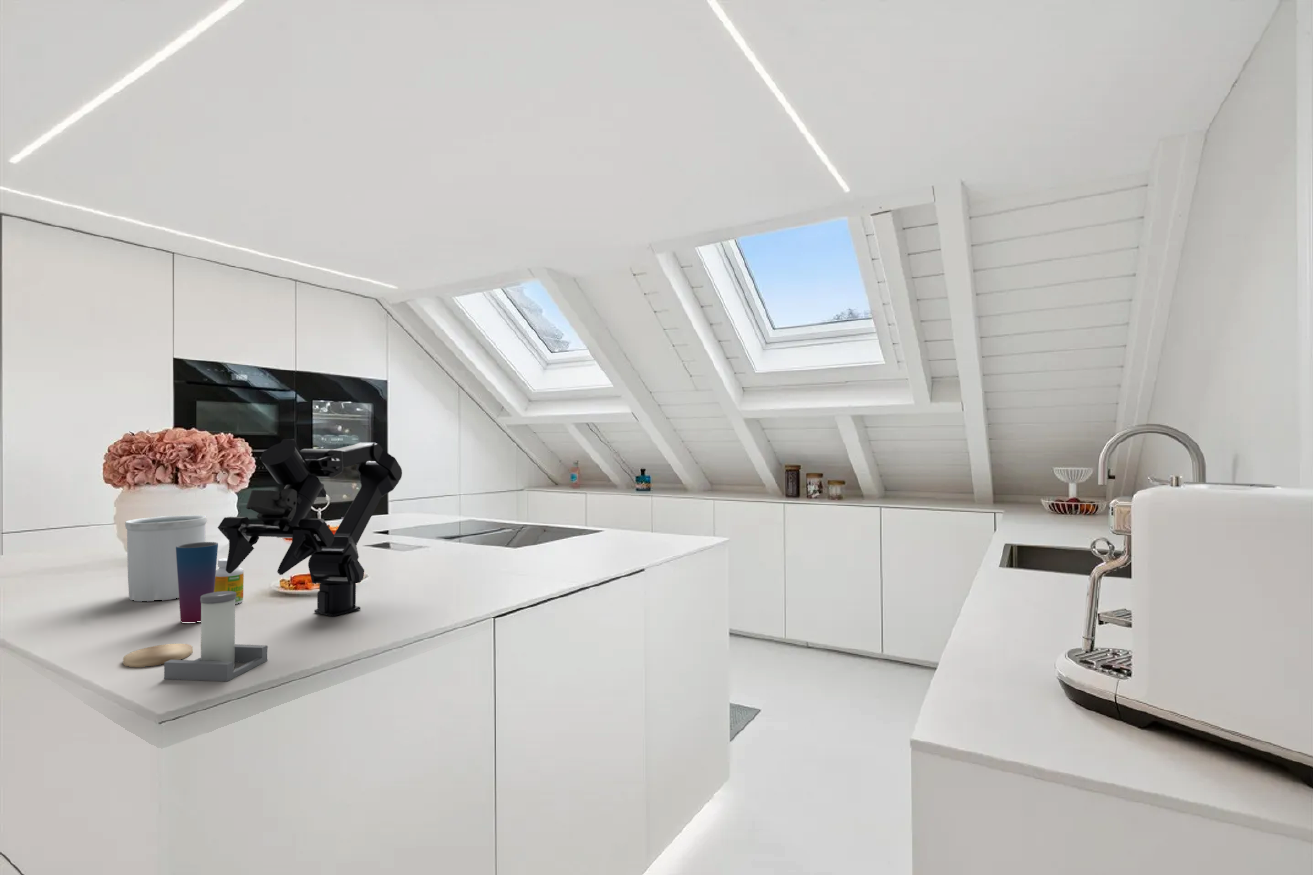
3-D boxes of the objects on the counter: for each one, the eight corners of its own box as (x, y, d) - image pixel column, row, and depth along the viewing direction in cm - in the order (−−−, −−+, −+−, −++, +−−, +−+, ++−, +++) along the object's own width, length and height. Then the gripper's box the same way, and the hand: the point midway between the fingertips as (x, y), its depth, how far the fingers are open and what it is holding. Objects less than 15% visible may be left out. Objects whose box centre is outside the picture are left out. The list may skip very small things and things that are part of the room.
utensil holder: (106, 600, 138) (107, 521, 138) (169, 585, 153) (170, 513, 153) (163, 604, 136) (164, 523, 136) (222, 588, 151) (222, 515, 151)
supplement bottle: (228, 607, 134) (228, 561, 134) (207, 605, 135) (207, 560, 135) (249, 600, 140) (249, 557, 140) (228, 599, 141) (229, 556, 141)
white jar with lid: (225, 662, 102) (226, 589, 102) (241, 667, 100) (242, 593, 100) (193, 671, 98) (194, 595, 98) (209, 677, 96) (210, 599, 96)
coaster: (176, 644, 110) (176, 640, 110) (203, 653, 106) (203, 649, 106) (112, 660, 102) (112, 655, 102) (139, 671, 98) (139, 666, 98)
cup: (225, 617, 127) (226, 543, 127) (190, 626, 121) (191, 548, 121) (201, 613, 129) (202, 540, 129) (166, 622, 123) (167, 546, 123)
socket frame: (209, 658, 104) (209, 643, 104) (267, 660, 103) (267, 645, 103) (164, 678, 95) (164, 662, 95) (227, 681, 94) (227, 664, 94)
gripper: (226, 472, 113) (174, 543, 102) (325, 473, 112) (283, 546, 101) (256, 510, 121) (211, 581, 110) (349, 512, 120) (313, 584, 109)
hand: (253, 572), depth 107 cm, fingers open, 9 cm apart
